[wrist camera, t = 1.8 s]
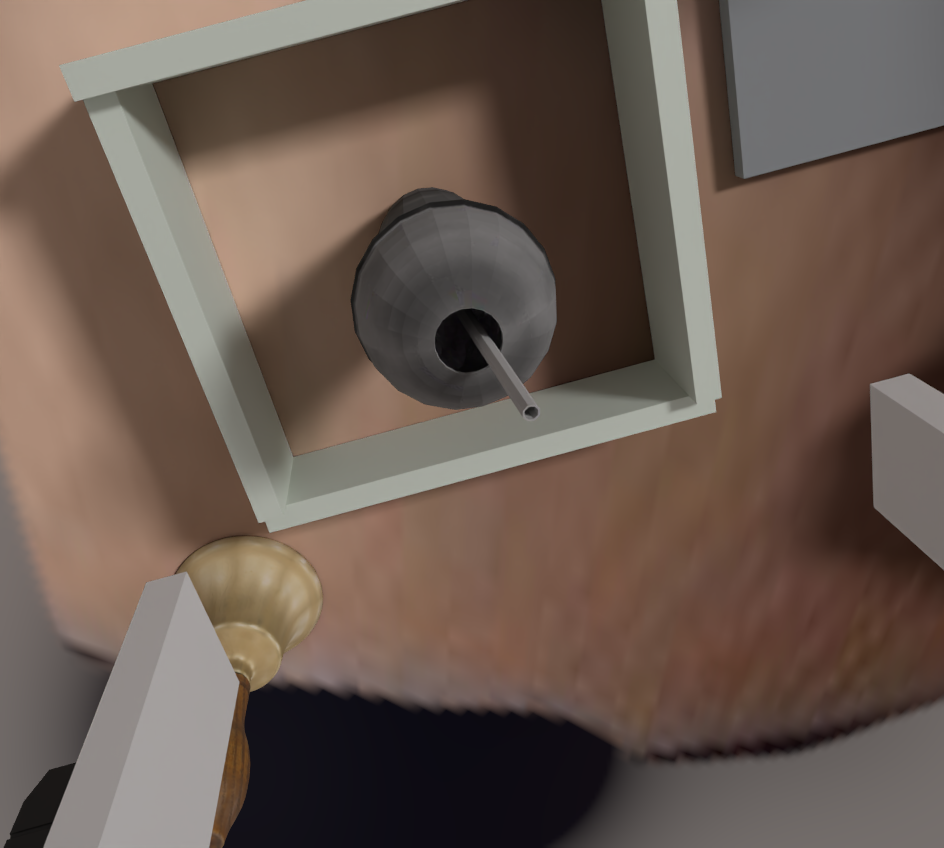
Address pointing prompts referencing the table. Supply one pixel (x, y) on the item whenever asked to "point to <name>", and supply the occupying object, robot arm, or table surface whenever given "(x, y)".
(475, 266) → the beverage cup
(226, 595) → the hand bell
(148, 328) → the table surface
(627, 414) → the frame
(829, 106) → the slate tile
